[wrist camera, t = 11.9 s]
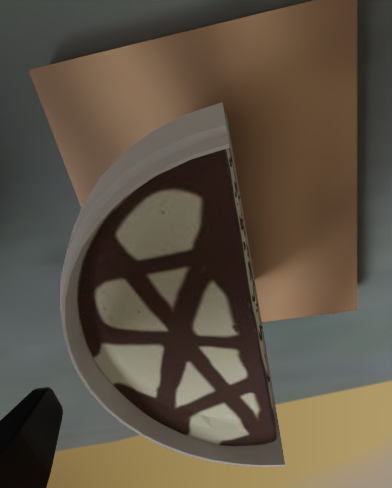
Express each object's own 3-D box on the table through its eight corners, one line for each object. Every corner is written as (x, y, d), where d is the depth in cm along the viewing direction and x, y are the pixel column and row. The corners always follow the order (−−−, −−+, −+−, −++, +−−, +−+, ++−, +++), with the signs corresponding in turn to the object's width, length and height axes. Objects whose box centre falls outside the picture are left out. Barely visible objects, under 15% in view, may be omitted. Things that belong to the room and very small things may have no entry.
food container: (88, 107, 17) (-52, 176, 8) (220, 76, 16) (224, 117, 7) (158, 314, 22) (121, 487, 14) (258, 299, 22) (286, 475, 13)
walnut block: (137, 317, 25) (131, 338, 24) (46, 67, 18) (28, 69, 16) (346, 290, 23) (356, 310, 22) (341, -5, 16) (357, -11, 14)
